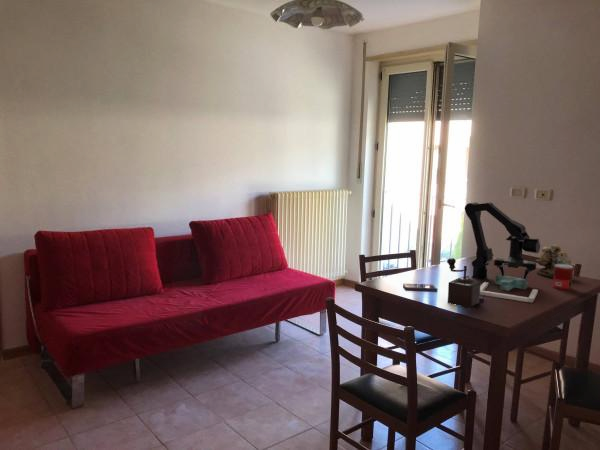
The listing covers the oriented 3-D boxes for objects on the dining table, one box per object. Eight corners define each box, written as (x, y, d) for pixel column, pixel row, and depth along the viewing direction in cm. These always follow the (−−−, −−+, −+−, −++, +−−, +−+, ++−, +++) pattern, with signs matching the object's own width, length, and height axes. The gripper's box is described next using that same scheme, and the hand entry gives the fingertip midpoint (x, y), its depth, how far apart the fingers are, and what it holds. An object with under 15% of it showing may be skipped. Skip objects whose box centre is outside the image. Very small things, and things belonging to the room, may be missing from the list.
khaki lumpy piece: (530, 274, 267) (532, 243, 265) (540, 271, 275) (542, 240, 272) (565, 281, 253) (568, 248, 251) (575, 277, 261) (578, 245, 259)
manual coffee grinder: (480, 302, 217) (483, 262, 214) (469, 308, 209) (472, 266, 206) (447, 295, 227) (449, 256, 225) (435, 300, 219) (438, 260, 217)
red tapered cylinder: (573, 290, 237) (575, 268, 235) (555, 289, 239) (557, 267, 237) (568, 286, 244) (570, 264, 243) (550, 285, 246) (552, 263, 244)
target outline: (475, 293, 230) (476, 290, 230) (483, 284, 245) (484, 282, 245) (532, 302, 217) (532, 299, 217) (537, 292, 233) (537, 289, 232)
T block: (489, 287, 241) (489, 279, 240) (498, 282, 250) (498, 274, 249) (519, 293, 232) (519, 284, 231) (527, 287, 241) (528, 279, 240)
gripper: (493, 250, 242) (490, 281, 245) (535, 255, 233) (532, 287, 235) (497, 246, 252) (494, 276, 254) (537, 251, 242) (535, 282, 245)
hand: (513, 280), depth 247 cm, fingers open, 9 cm apart
